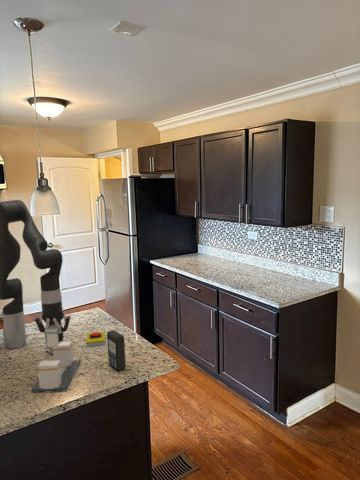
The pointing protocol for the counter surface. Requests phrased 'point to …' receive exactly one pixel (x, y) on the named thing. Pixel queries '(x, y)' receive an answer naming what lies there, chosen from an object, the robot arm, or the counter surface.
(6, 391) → the counter surface
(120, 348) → the black card payment terminal
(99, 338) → the emergency button
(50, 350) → the label tape cartridge
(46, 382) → the mounted modules
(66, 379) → the rail plate
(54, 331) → the block
